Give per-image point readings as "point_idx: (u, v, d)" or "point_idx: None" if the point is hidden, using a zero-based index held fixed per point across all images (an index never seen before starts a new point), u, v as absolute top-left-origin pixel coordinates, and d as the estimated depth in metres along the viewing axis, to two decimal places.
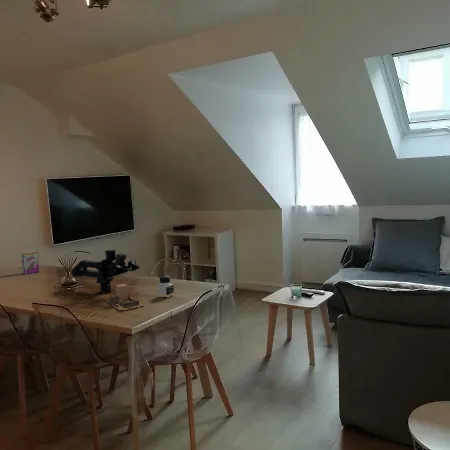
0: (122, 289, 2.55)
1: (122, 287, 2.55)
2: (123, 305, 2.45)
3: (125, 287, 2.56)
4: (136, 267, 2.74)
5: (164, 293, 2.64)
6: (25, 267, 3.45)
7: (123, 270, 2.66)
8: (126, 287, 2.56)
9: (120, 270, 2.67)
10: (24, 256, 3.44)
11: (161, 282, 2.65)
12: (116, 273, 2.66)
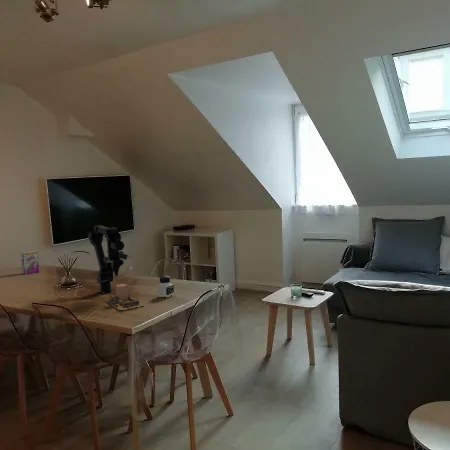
0: (122, 289, 2.55)
1: (122, 287, 2.55)
2: (123, 305, 2.45)
3: (125, 287, 2.56)
4: (111, 270, 2.74)
5: (164, 293, 2.64)
6: (25, 267, 3.45)
7: (116, 271, 2.67)
8: (126, 287, 2.56)
9: (116, 267, 2.67)
10: (24, 256, 3.44)
11: (161, 282, 2.65)
12: (114, 266, 2.64)
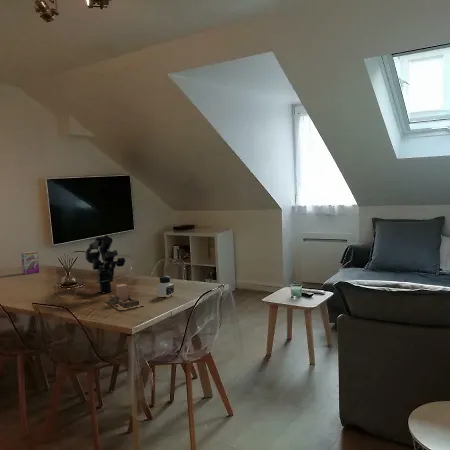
0: (122, 289, 2.55)
1: (122, 287, 2.55)
2: (123, 305, 2.45)
3: (125, 287, 2.56)
4: None
5: (164, 293, 2.64)
6: (25, 267, 3.45)
7: (109, 271, 2.70)
8: (126, 287, 2.56)
9: None
10: (24, 256, 3.44)
11: (161, 282, 2.65)
12: (103, 268, 2.72)
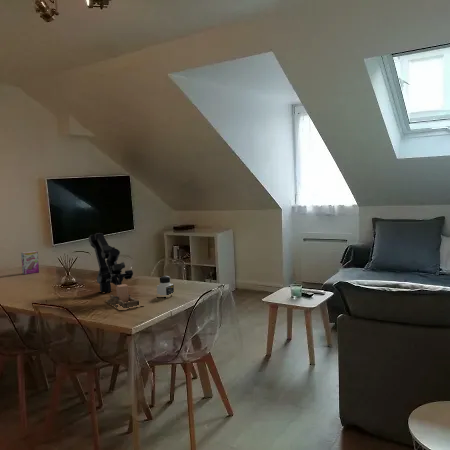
0: (122, 289, 2.55)
1: (122, 287, 2.55)
2: (123, 305, 2.45)
3: (125, 287, 2.56)
4: None
5: (164, 293, 2.64)
6: (25, 267, 3.45)
7: (117, 284, 2.60)
8: (126, 287, 2.56)
9: (115, 281, 2.61)
10: (24, 256, 3.44)
11: (161, 282, 2.65)
12: (111, 281, 2.62)
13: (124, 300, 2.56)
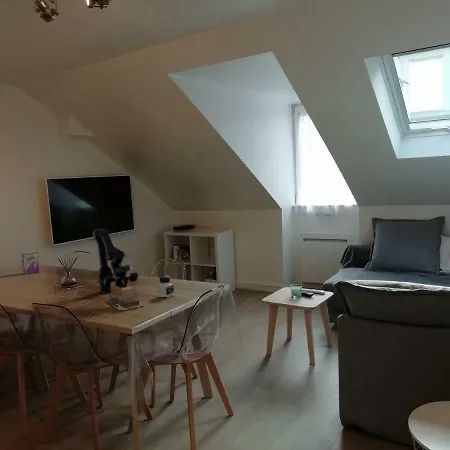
0: (128, 292, 2.48)
1: (128, 290, 2.48)
2: (123, 305, 2.45)
3: (131, 290, 2.49)
4: None
5: (164, 293, 2.64)
6: (25, 267, 3.45)
7: (121, 287, 2.53)
8: (132, 290, 2.49)
9: (120, 284, 2.55)
10: (24, 256, 3.44)
11: (161, 282, 2.65)
12: (115, 284, 2.55)
13: None
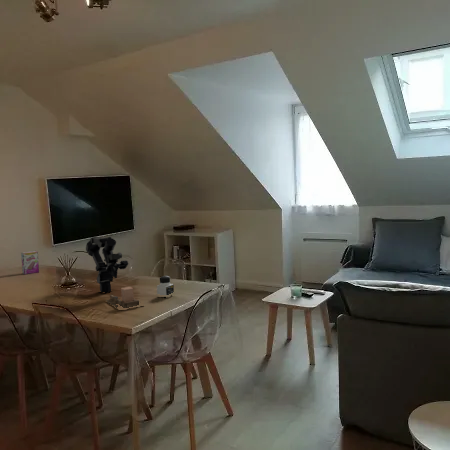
0: (128, 292, 2.48)
1: (128, 290, 2.48)
2: (123, 305, 2.45)
3: (131, 290, 2.49)
4: None
5: (164, 293, 2.64)
6: (25, 267, 3.45)
7: (112, 273, 2.66)
8: (132, 290, 2.49)
9: (111, 270, 2.67)
10: (24, 256, 3.44)
11: (161, 282, 2.65)
12: (106, 270, 2.68)
13: None
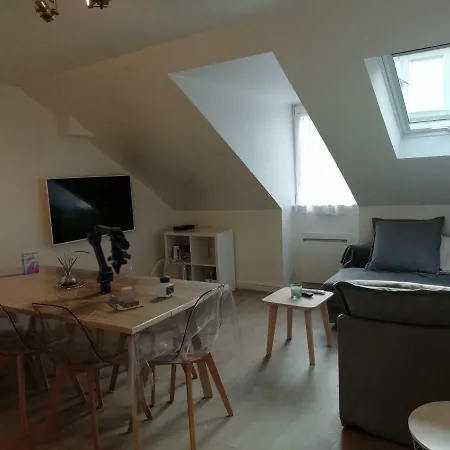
0: (128, 292, 2.48)
1: (128, 290, 2.48)
2: (123, 305, 2.45)
3: (131, 290, 2.49)
4: None
5: (164, 293, 2.64)
6: (25, 267, 3.45)
7: (118, 270, 2.71)
8: (132, 290, 2.49)
9: (118, 266, 2.71)
10: (24, 256, 3.44)
11: (161, 282, 2.65)
12: (116, 265, 2.68)
13: None
